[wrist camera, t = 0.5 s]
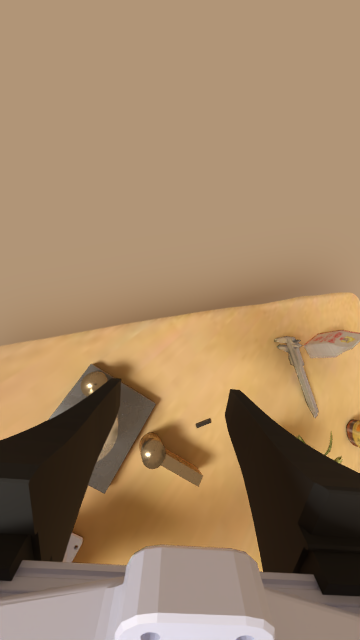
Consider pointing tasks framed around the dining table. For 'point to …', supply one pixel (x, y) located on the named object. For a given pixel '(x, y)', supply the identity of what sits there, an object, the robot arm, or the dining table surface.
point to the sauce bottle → (354, 432)
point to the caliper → (298, 369)
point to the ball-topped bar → (167, 459)
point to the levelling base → (125, 430)
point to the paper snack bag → (331, 343)
